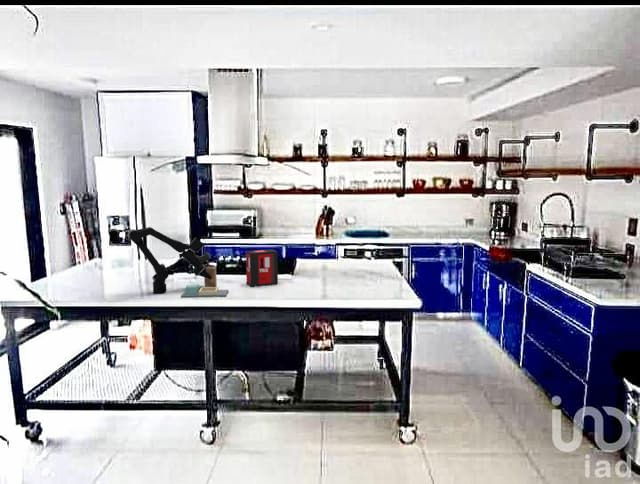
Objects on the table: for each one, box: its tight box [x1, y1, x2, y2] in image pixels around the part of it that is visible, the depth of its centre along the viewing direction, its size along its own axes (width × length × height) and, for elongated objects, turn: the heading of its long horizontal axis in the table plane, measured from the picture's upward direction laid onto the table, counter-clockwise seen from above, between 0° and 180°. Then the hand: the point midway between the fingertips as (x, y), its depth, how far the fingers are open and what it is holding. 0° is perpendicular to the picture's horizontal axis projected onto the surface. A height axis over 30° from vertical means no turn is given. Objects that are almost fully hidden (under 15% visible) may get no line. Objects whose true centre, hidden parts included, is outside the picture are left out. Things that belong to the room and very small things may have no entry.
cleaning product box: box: [245, 249, 279, 288], centre depth 306 cm, size 16×9×20 cm, turn 115°
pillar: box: [203, 266, 218, 287], centre depth 294 cm, size 6×6×12 cm
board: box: [180, 284, 229, 299], centre depth 282 cm, size 24×12×5 cm, turn 95°
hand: (212, 277), depth 294 cm, fingers open, 9 cm apart
